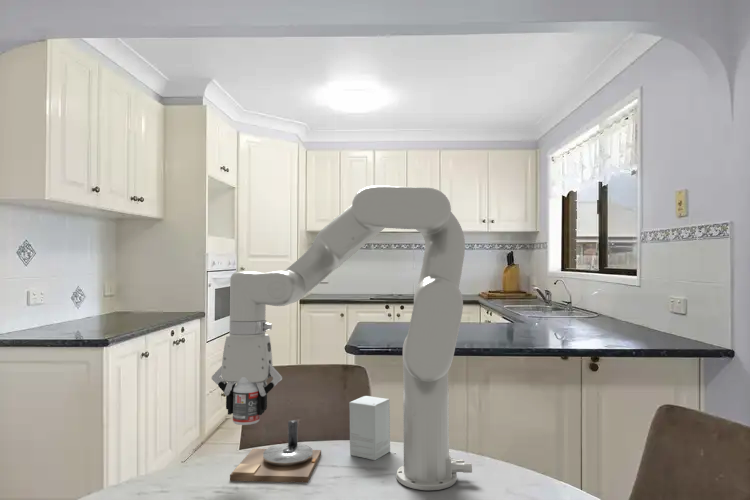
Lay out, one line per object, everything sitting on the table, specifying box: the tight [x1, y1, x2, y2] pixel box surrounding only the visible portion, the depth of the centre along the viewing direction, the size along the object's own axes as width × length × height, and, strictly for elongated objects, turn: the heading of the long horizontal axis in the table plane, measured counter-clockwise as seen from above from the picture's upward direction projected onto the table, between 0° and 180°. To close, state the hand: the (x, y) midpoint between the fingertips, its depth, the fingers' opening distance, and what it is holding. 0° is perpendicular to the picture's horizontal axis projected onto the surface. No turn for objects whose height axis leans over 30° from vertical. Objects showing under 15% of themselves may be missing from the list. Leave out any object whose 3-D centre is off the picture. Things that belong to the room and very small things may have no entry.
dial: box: [263, 419, 314, 466], centre depth 114 cm, size 11×11×6 cm
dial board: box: [229, 448, 322, 484], centre depth 112 cm, size 16×16×2 cm
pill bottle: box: [232, 377, 261, 426], centre depth 108 cm, size 6×6×10 cm
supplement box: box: [348, 395, 391, 461], centre depth 121 cm, size 7×7×13 cm
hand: (246, 412), depth 108 cm, fingers closed on pill bottle, 5 cm apart
